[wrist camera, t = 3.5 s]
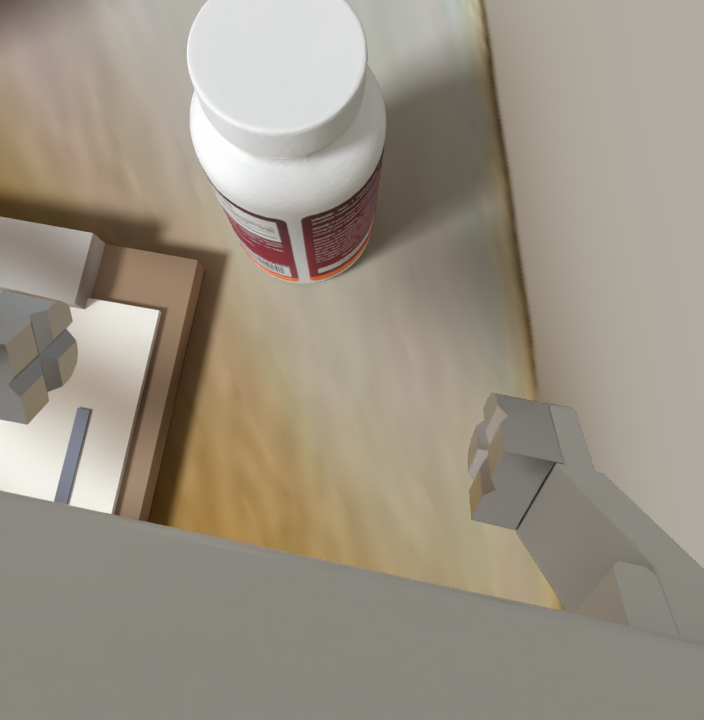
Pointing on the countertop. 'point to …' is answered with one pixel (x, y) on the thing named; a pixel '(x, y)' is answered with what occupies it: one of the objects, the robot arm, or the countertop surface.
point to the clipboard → (100, 367)
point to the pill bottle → (289, 130)
